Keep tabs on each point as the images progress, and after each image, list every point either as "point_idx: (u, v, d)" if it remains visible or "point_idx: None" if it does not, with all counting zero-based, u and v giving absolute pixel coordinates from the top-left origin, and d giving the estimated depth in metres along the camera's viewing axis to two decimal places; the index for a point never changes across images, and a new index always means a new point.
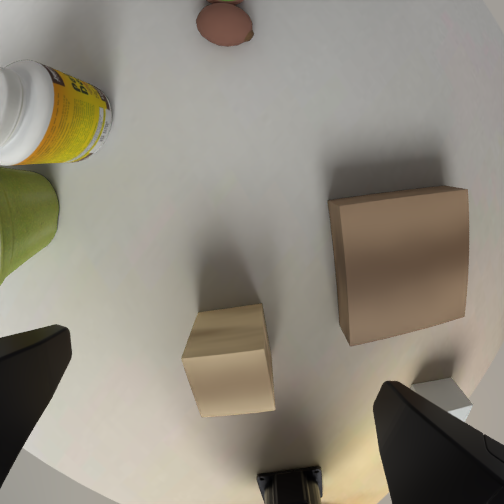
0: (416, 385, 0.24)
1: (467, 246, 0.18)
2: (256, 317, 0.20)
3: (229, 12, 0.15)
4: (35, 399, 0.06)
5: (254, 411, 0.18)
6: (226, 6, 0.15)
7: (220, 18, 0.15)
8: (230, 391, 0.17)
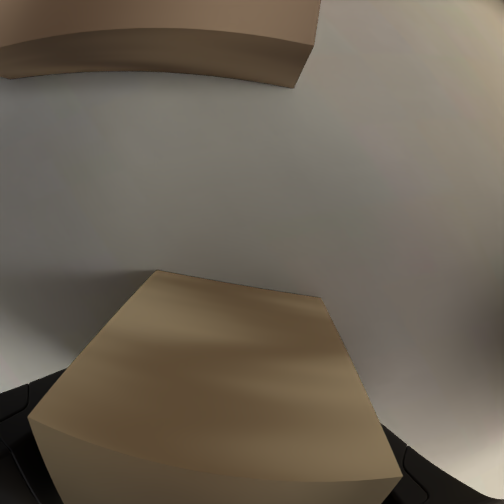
0: None
1: None
2: None
3: None
4: None
5: None
6: None
7: None
8: None
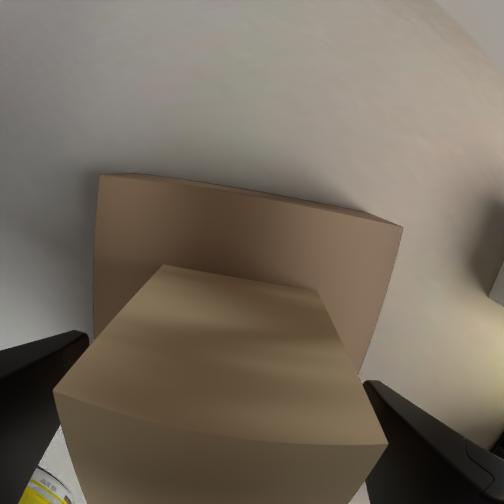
0: (494, 291, 0.12)
1: (223, 198, 0.09)
2: None
3: None
4: (55, 408, 0.06)
5: (349, 493, 0.04)
6: None
7: None
8: None
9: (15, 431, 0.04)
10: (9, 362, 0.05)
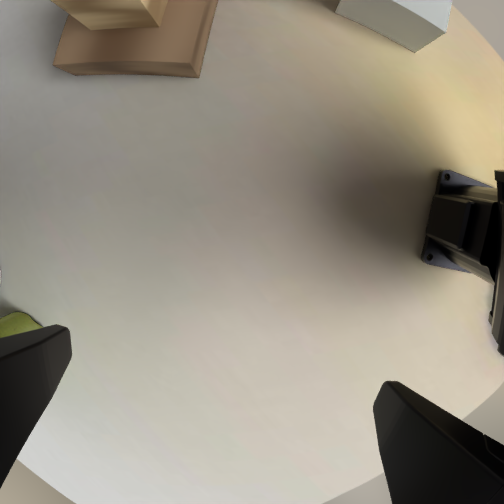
0: (337, 6, 0.16)
1: None
2: None
3: None
4: (35, 399, 0.06)
5: None
6: None
7: None
8: None
9: None
10: None
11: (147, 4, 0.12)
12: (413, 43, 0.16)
